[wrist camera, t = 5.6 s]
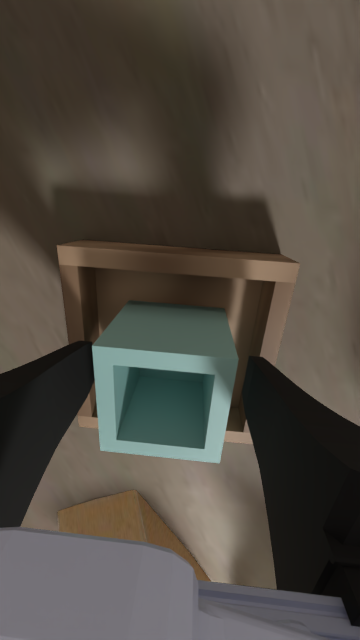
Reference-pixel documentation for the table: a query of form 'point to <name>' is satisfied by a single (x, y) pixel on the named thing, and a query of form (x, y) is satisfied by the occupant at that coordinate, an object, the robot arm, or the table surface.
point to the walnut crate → (179, 299)
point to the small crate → (165, 381)
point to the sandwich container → (124, 523)
